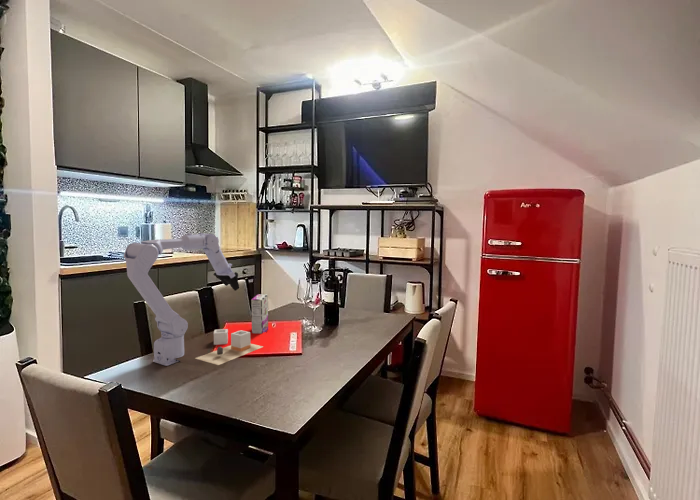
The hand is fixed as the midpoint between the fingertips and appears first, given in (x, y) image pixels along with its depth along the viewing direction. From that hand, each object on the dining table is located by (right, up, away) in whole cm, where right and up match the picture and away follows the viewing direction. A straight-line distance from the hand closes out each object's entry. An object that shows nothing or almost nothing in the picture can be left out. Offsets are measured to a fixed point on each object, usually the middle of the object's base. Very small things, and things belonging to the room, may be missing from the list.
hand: (232, 286), depth 158 cm
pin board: (+5, -24, -17) cm, 30 cm away
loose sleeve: (-3, -23, -6) cm, 24 cm away
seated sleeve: (+7, -22, -13) cm, 26 cm away
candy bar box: (+9, -22, +12) cm, 26 cm away
